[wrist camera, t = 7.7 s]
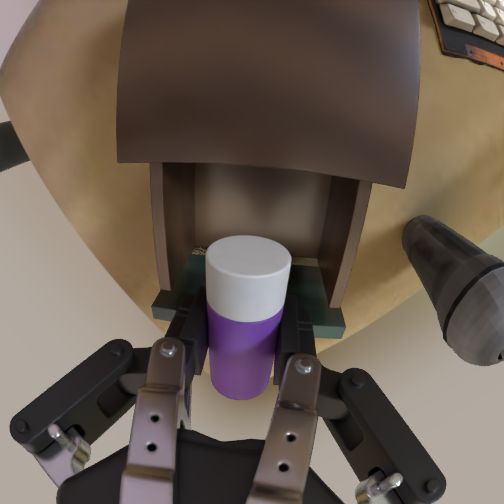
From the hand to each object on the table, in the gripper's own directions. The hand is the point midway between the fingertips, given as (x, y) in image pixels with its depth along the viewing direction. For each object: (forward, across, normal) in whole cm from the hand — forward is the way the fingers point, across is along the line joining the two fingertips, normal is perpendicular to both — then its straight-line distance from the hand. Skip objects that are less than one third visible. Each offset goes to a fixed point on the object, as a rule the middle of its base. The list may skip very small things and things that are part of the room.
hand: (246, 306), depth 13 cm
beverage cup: (+12, -16, 0) cm, 20 cm away
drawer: (+11, 0, 0) cm, 11 cm away
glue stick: (0, -1, 0) cm, 1 cm away
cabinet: (+12, 0, -14) cm, 19 cm away
